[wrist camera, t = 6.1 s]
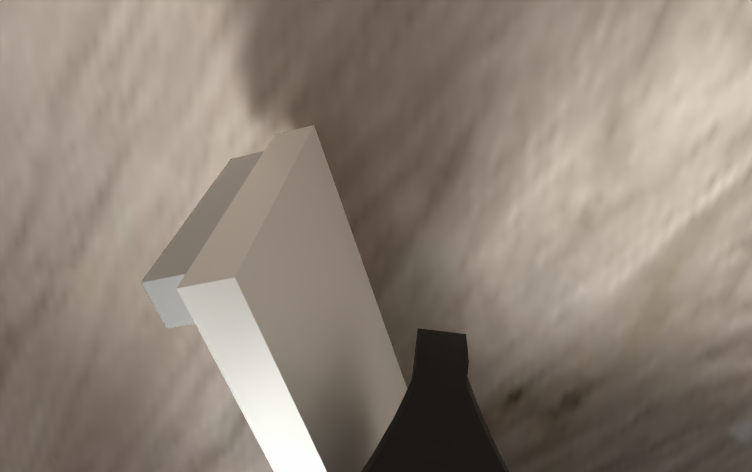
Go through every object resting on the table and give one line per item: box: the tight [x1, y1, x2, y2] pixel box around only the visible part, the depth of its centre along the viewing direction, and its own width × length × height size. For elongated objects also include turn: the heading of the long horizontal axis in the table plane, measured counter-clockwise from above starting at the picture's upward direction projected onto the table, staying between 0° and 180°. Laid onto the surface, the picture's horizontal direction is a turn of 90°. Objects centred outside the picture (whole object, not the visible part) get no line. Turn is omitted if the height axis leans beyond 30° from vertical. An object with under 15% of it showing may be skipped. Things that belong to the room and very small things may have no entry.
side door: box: [141, 125, 407, 472], centre depth 12 cm, size 10×2×5 cm, turn 16°
